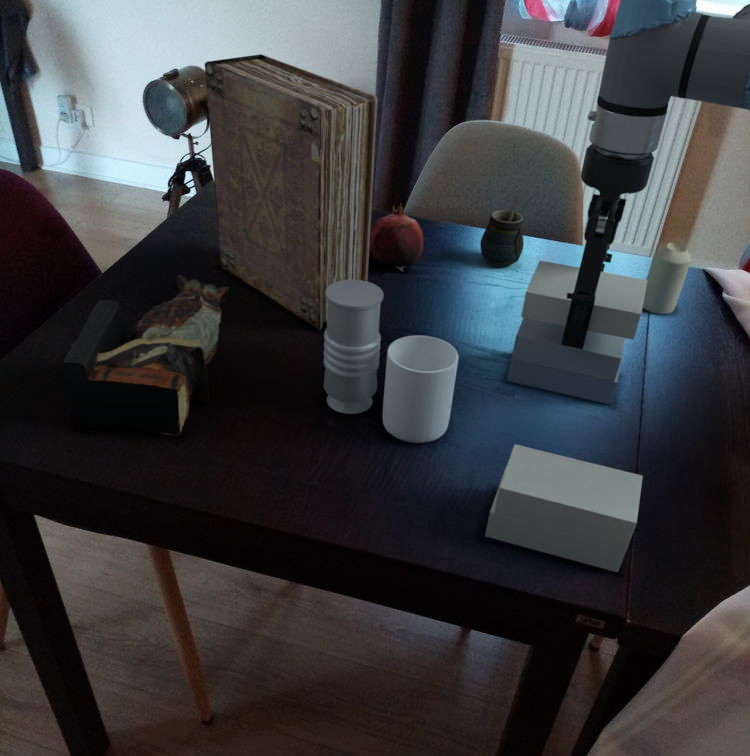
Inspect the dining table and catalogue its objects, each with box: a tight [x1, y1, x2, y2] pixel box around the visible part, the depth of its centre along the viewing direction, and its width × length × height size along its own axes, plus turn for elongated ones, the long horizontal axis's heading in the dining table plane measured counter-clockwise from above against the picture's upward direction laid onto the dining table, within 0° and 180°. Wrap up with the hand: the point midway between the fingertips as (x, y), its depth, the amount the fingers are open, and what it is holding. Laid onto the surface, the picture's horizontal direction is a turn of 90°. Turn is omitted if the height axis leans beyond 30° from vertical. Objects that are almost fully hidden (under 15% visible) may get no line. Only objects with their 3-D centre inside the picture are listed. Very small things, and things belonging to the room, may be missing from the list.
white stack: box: [484, 443, 644, 573], centre depth 82 cm, size 14×8×7 cm, turn 71°
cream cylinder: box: [642, 241, 693, 315], centre depth 122 cm, size 6×6×10 cm
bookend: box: [61, 274, 230, 437], centre depth 98 cm, size 15×11×25 cm
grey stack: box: [506, 318, 627, 405], centre depth 105 cm, size 14×8×7 cm, turn 71°
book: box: [204, 53, 378, 331], centre depth 112 cm, size 25×9×30 cm, turn 42°
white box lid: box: [521, 260, 647, 341], centre depth 100 cm, size 14×10×4 cm
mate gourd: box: [479, 196, 525, 268], centre depth 131 cm, size 7×8×10 cm
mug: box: [381, 334, 459, 444], centre depth 95 cm, size 12×8×10 cm
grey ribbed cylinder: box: [323, 280, 385, 415], centre depth 96 cm, size 7×7×15 cm
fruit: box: [369, 202, 424, 273], centre depth 128 cm, size 9×10×10 cm
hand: (578, 326), depth 102 cm, fingers closed on white box lid, 10 cm apart
